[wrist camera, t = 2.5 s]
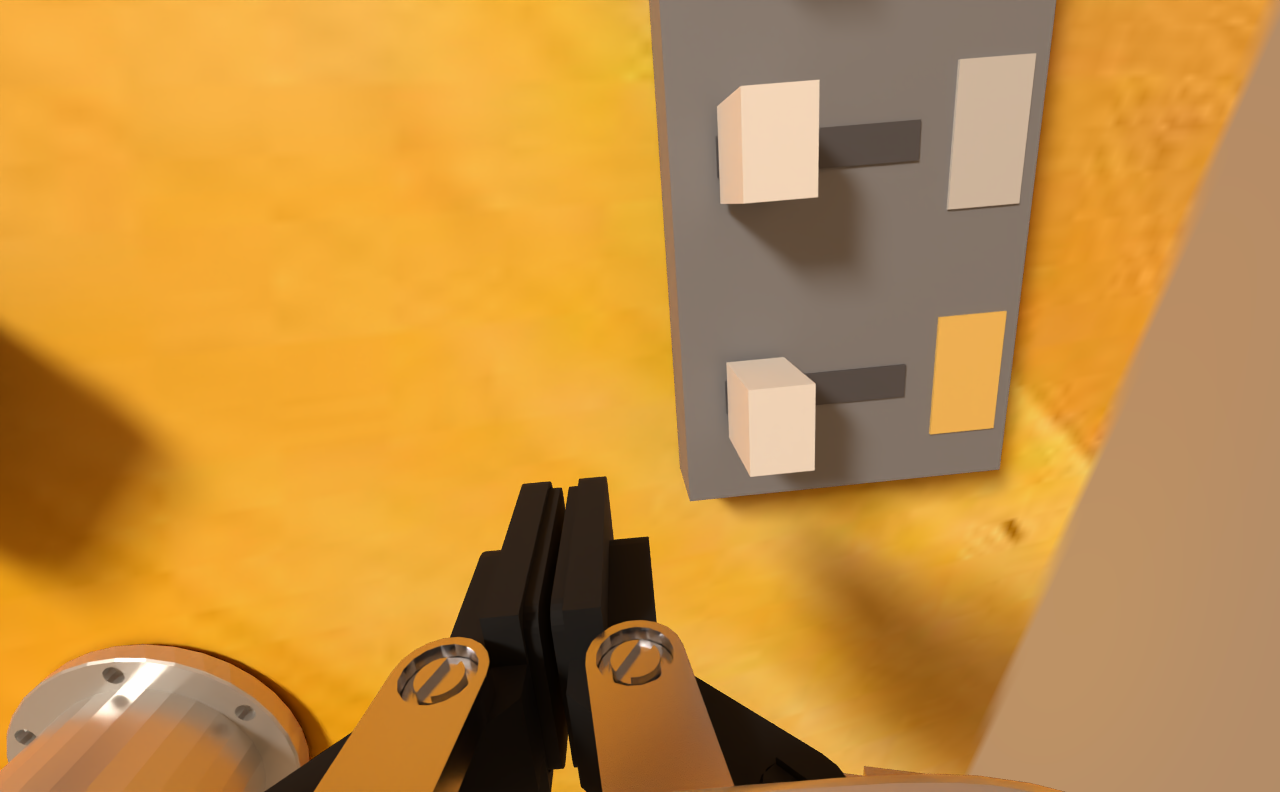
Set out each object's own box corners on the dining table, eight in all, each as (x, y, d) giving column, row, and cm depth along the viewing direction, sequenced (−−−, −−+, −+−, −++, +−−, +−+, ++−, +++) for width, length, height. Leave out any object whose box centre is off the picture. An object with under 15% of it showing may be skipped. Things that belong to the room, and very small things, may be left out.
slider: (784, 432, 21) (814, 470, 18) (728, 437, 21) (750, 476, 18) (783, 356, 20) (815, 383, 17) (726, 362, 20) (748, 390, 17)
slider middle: (782, 198, 19) (818, 197, 16) (720, 203, 19) (743, 203, 16) (782, 101, 18) (819, 79, 15) (716, 106, 18) (740, 86, 15)
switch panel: (955, 439, 25) (1001, 470, 22) (680, 467, 25) (690, 502, 22) (1023, -286, 18) (1105, -382, 15) (631, -262, 18) (637, -356, 15)
